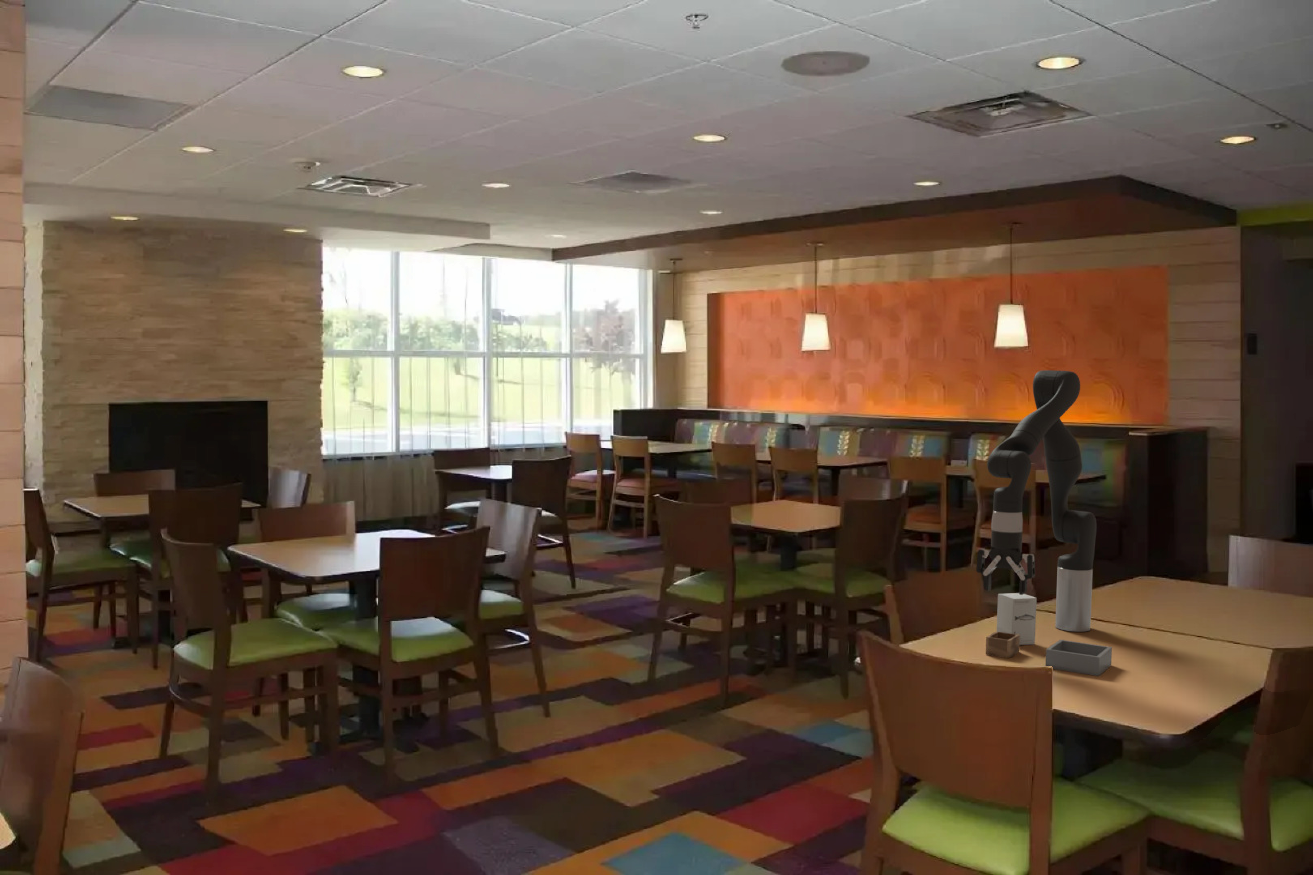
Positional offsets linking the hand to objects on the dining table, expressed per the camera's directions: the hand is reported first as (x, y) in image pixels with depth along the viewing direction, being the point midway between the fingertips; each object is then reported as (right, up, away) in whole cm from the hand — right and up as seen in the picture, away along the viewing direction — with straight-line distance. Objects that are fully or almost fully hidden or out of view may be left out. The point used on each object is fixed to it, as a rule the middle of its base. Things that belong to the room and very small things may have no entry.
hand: (1004, 592), depth 283 cm
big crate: (+15, -17, -11) cm, 25 cm away
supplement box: (+7, -15, +13) cm, 21 cm away
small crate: (0, -16, +1) cm, 16 cm away
